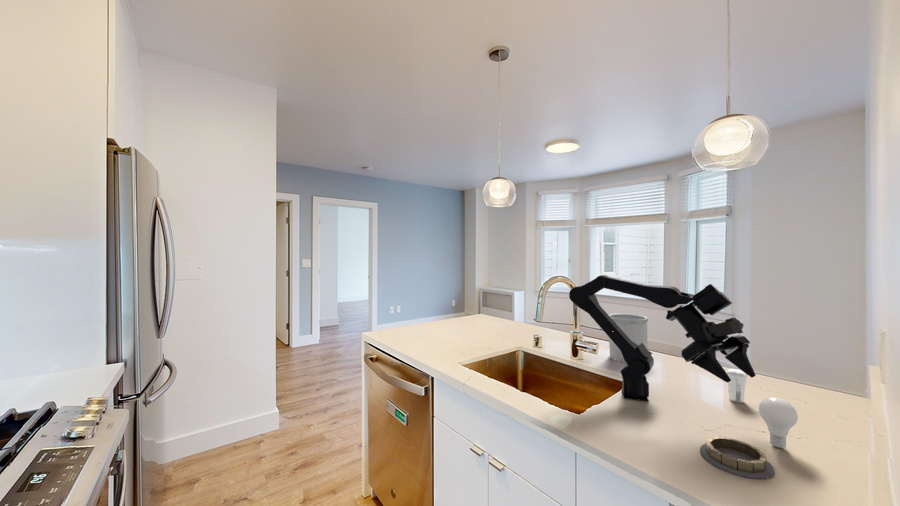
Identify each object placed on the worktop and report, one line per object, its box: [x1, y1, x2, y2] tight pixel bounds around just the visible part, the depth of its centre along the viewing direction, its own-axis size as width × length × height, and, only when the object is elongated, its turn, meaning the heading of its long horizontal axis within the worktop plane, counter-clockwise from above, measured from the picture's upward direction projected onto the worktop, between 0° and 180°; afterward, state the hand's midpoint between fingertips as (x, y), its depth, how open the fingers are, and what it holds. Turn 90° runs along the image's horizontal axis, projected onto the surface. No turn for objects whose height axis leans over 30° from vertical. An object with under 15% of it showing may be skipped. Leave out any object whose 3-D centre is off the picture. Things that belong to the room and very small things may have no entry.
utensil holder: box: [608, 312, 649, 364], centre depth 141 cm, size 15×15×18 cm
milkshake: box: [726, 368, 748, 404], centre depth 101 cm, size 4×5×10 cm
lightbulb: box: [758, 396, 799, 449], centre depth 77 cm, size 6×6×11 cm
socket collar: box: [705, 436, 768, 473], centre depth 73 cm, size 10×10×2 cm
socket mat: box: [699, 443, 775, 480], centre depth 73 cm, size 12×12×1 cm
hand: (741, 379), depth 84 cm, fingers open, 9 cm apart
